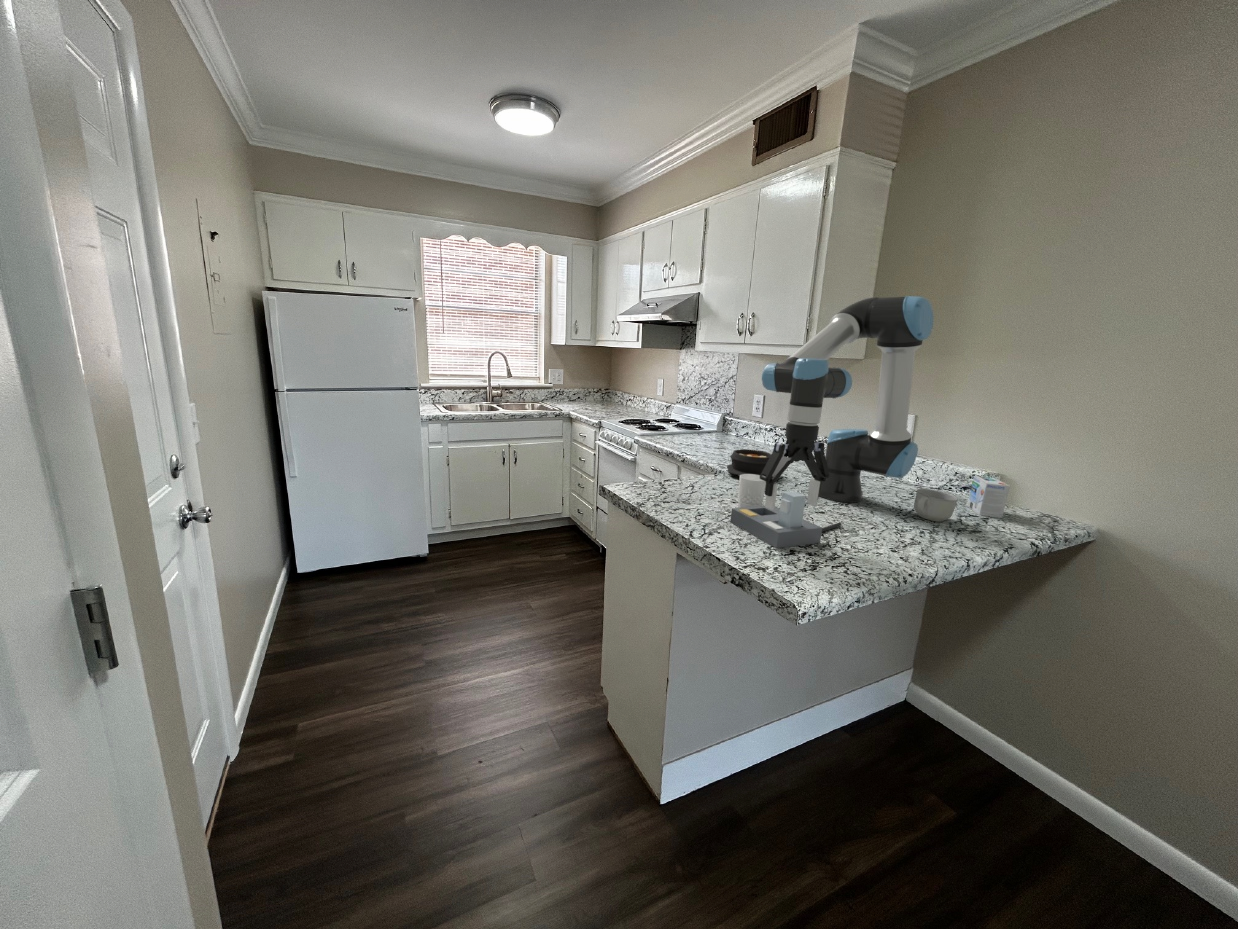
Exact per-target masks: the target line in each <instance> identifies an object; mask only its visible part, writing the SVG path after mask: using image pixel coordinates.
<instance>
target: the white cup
mask: <svg viewBox="0 0 1238 929" xmlns="http://www.w3.org/2000/svg"><path fill="white" fill-rule="evenodd" d="M738 480H739V482H738V494H737V495H738V496H737V499H738V504H737V508H742V507H753V506H763V502H764V497H765V487H766V482H765V481H764V480H761V479H760V475H755V474H742V475H740V476H739V479H738Z"/></svg>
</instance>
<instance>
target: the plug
mask: <svg viewBox="0 0 1238 929" xmlns="http://www.w3.org/2000/svg"><path fill="white" fill-rule="evenodd" d="M806 500H807V495H805V494H803V493H800V492H798V491H794V490H792V491H782V492H781V499H780V505H779V506H780V507H779V508H780V514H779V521H778V524H779V525H781V526H783V527H785V528H787V529H790V528H799V527H801V526H802V519H804V518H803V517H804V512H805V506H806Z"/></svg>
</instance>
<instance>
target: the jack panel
mask: <svg viewBox="0 0 1238 929" xmlns="http://www.w3.org/2000/svg"><path fill="white" fill-rule="evenodd" d="M779 514H780V507H778V506H776V505H775V508H774V510H771V509H769V508H767V507H765V505H762V506H753V507H742V508H738V507H734V508H733V507H731V512H730V521H729V523H731V524H733V525H735V526H736V527H738V528H739V529H742V530H743V531H746V532H747V533H749V534H751V535H753V536H754V537H756V538H757V539H758V540H759V539H760V540H762V541H763V542H764V543H767V544H768V545H770V546H771V547H773V548H775V549H781V548H788V547H796V546H803V545H805V546H806V545H811V544H813V545H814V544H819V543H820V544H821V537H822V533H823V532H822V528H823V527H821V526H820V525H818V524H815V523H813V522H811V521H808V520H807V519H804V518H803V519H802V526H801V527H799V528H790V529H787V528H785V527H783V526H781V525H779V524H778V521H779Z"/></svg>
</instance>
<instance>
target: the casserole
mask: <svg viewBox="0 0 1238 929" xmlns="http://www.w3.org/2000/svg"><path fill="white" fill-rule="evenodd" d="M771 454H772V453H769V452H766V451H763V450H758V449H757V450H756V449H744V448H743V449H736V450H733V451H732V453H731V455H730V456H729V457H730V458H731V464H728V465H727V466H726V469H727V472H728V473H729V474H732V475H735V476H738V477H740V475H742V474H755V475H761V473H762V471H763V469H764V467H765V465H766V464H767V462H768V460H769V458H770V456H771Z"/></svg>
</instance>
